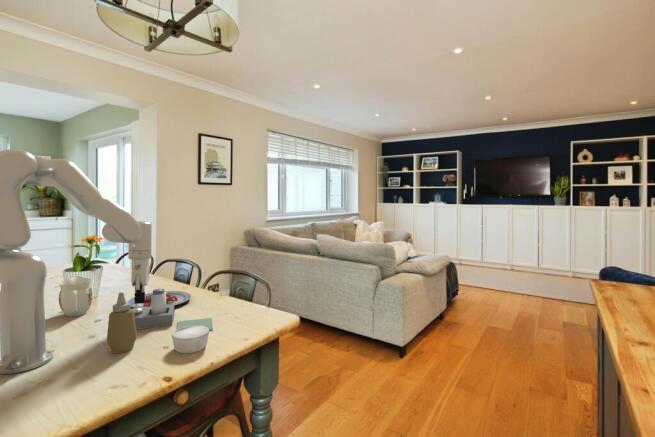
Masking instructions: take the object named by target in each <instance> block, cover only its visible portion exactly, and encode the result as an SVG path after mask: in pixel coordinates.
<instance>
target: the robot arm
mask: <svg viewBox="0 0 655 437" xmlns="http://www.w3.org/2000/svg"><path fill="white" fill-rule="evenodd" d="M24 185H26V186H27V185H28V186H38V187H48V188H49V187H53V188H55V189H56V190H57V191H58V192H59V193H60V194H62V195H63V197H65V199H66V200H67V201H68V202H69V203H70V204H71V205H72V206H73V207H75V209H77V210H78V211H79V212H82V213H83V214H85V215H87V216H89V217H92V218H95V219H98V220H99V221H101V222H103V223H104V224H105V225H103V227H102V228H101V229H102V230H101V235H102V237H103V238H104V240H107V241H108V242H110V243H122V244H128V247H127V248H128V252H127V253H128V260H131V271H130V272H131V273H130V274H131V286H132V287H134V297H135V304H140V303H144V302H145V294H146V290H145V286H147V285H148V284H149V282H150V280H151V279H150V278H151V277H150V259H152V233H153V231H152V229H153V228H152V223H151V222H150V221H141V220H140V221H138V220H136V219H135V218H134V217H133V215H132V214H131V213H130V212H129V211H128V210H126V209H125V208H124V207H122V206H121V205H120V204H118V203H117V202H115V201H114V200H112V199H111V198H109V197H108V196H106V195H105V194H103V192H101V191H100V189H99V188H98V187H97V186H96V185H95V184H94V183H93V182H92V181H91V180H90V179H89V177H88V176H86V175H85V173H84V172H83V171H82V170H81V169H80V168H79V167H78V166H77V165H76V164H75V163H74V162H73V161H71V160H70V159H65V158H50V159H49V158H48V159H46V158H45V159H44V158H37V157H35V156H34V155H33V154H32V153H30V152H29V151H26V150H23V149H19V148H18V149H17V148H16V149H15V148H13V149H12V148H11V149H3V150H0V374H1V375H2V374H3V375H5V374H6V375H7V374H17V373H21V372H26V371H29V370H33V369H36V368H38V367H41V366H43V365H45V364H48V363H49V361H51V360H52V359H53V358H54V352H53V351H52V350H50V349H47V346H46V345H47V344H46V315H45V314H46V312H45V286H46V281H47V280H46V279H47V273H48V270H47V266H46V263H45V262H44V260H43V259H42V258H40V257H39V256H37V255H35V254H34V253H29V252H25V251H22V248H23V247H24V246H26V245H27V244H28V243H29V241H30V240H31V237H32V233H31V231H32V230H31V227H30V225H29V222H28V218H27V215H26V213H25V209H24V205H23V200H22V196H21V192H22V188H23V186H24Z"/></svg>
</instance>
